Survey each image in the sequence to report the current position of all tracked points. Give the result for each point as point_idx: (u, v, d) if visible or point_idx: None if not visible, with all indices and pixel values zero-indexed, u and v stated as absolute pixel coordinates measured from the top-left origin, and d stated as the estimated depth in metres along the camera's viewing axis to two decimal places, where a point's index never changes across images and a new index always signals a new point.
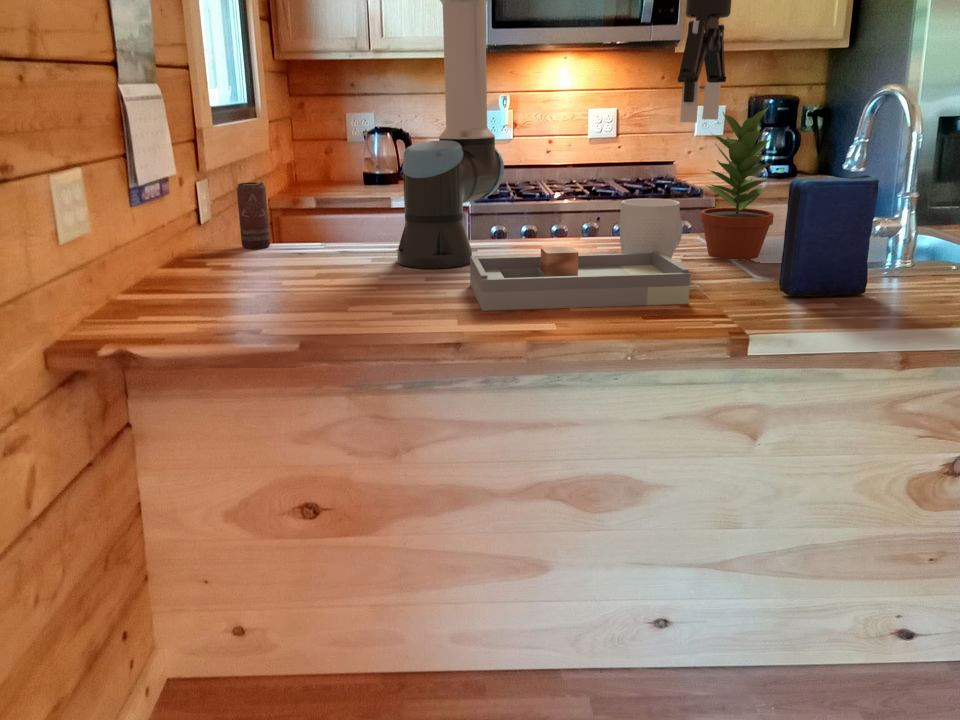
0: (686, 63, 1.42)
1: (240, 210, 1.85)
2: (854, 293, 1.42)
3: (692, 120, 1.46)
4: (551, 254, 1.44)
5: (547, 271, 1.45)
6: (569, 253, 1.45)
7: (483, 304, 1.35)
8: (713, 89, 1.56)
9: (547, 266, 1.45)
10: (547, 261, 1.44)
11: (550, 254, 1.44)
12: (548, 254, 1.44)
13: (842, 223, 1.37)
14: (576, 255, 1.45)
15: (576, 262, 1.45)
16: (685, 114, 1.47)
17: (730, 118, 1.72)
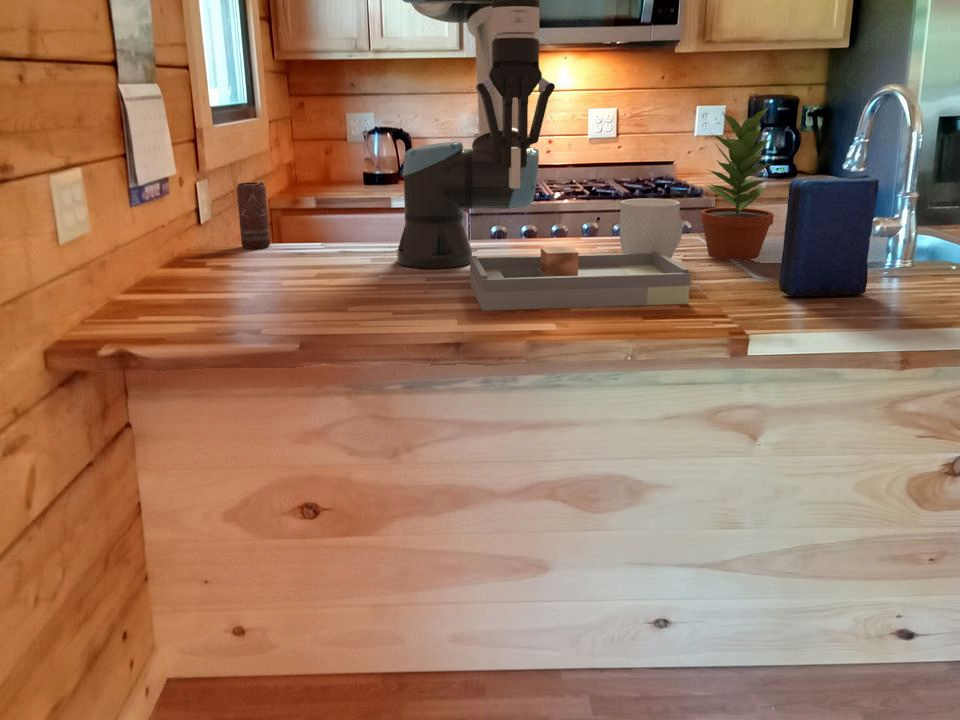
0: (490, 130, 1.40)
1: (240, 210, 1.85)
2: (854, 293, 1.42)
3: (510, 186, 1.42)
4: (551, 254, 1.44)
5: (547, 271, 1.45)
6: (569, 253, 1.45)
7: (483, 304, 1.35)
8: None
9: (547, 266, 1.45)
10: (547, 261, 1.44)
11: (550, 254, 1.44)
12: (548, 254, 1.44)
13: (842, 223, 1.37)
14: (576, 255, 1.45)
15: (576, 262, 1.45)
16: (509, 179, 1.43)
17: (730, 118, 1.72)
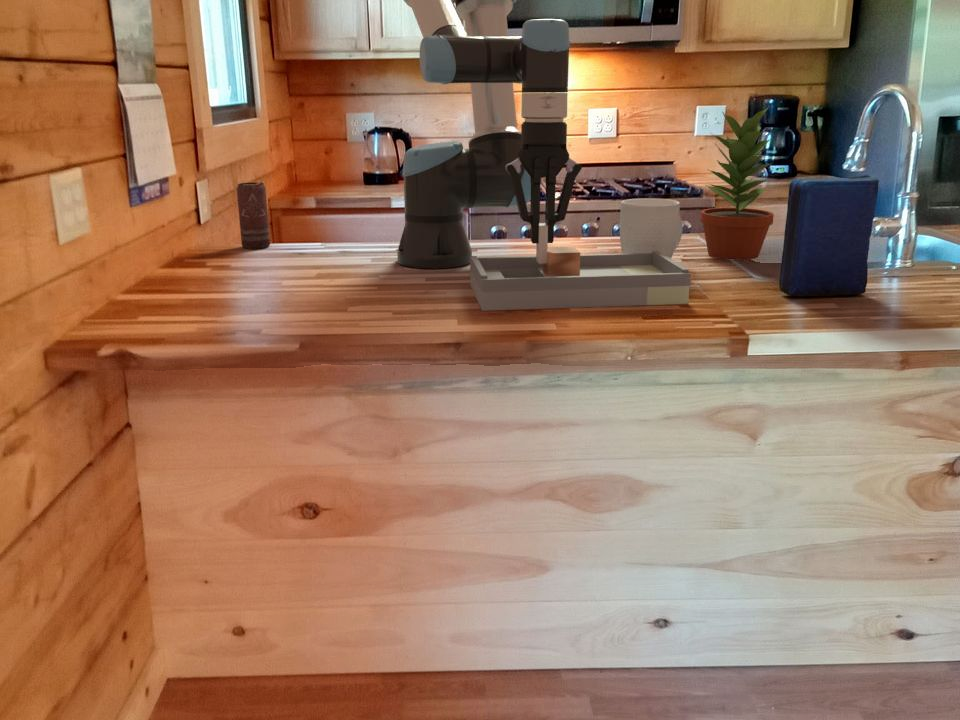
0: (518, 208, 1.44)
1: (240, 210, 1.85)
2: (854, 293, 1.42)
3: (538, 261, 1.46)
4: (553, 254, 1.44)
5: (549, 271, 1.45)
6: (571, 253, 1.44)
7: (483, 304, 1.35)
8: None
9: (549, 266, 1.45)
10: (549, 261, 1.44)
11: (552, 254, 1.44)
12: (550, 254, 1.44)
13: (842, 223, 1.37)
14: (578, 255, 1.45)
15: (578, 262, 1.45)
16: (537, 254, 1.47)
17: (730, 118, 1.72)
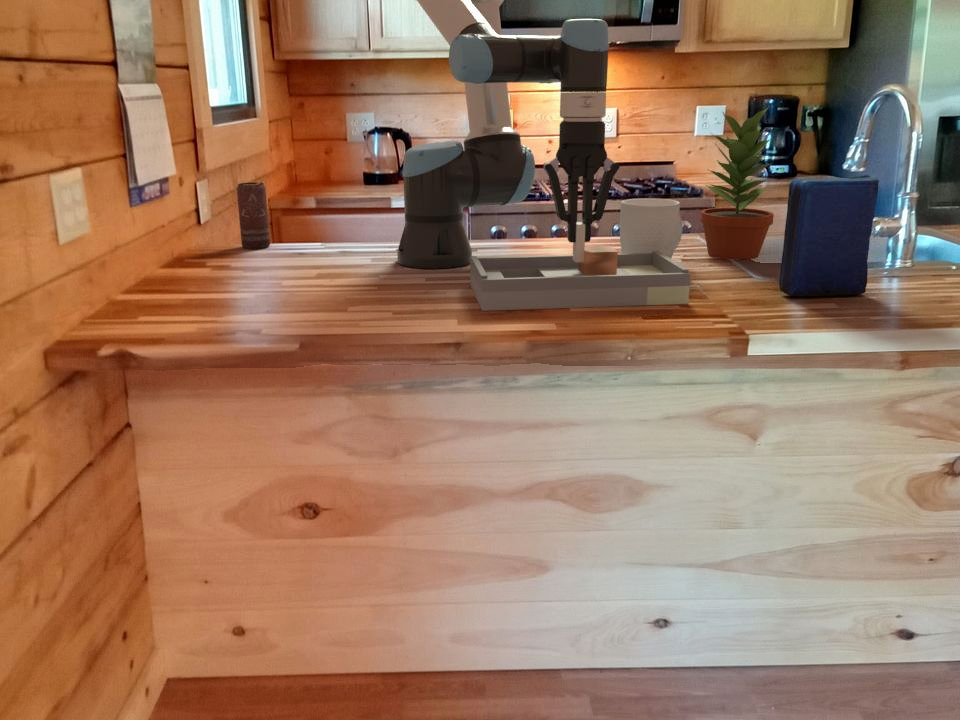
0: (556, 207, 1.45)
1: (240, 210, 1.85)
2: (854, 293, 1.42)
3: (575, 259, 1.47)
4: (590, 253, 1.45)
5: (586, 270, 1.46)
6: (608, 252, 1.45)
7: (483, 304, 1.35)
8: None
9: (586, 265, 1.45)
10: (586, 260, 1.45)
11: (589, 253, 1.45)
12: (587, 253, 1.45)
13: (842, 223, 1.37)
14: (615, 254, 1.45)
15: (615, 261, 1.46)
16: (573, 252, 1.48)
17: (730, 118, 1.72)
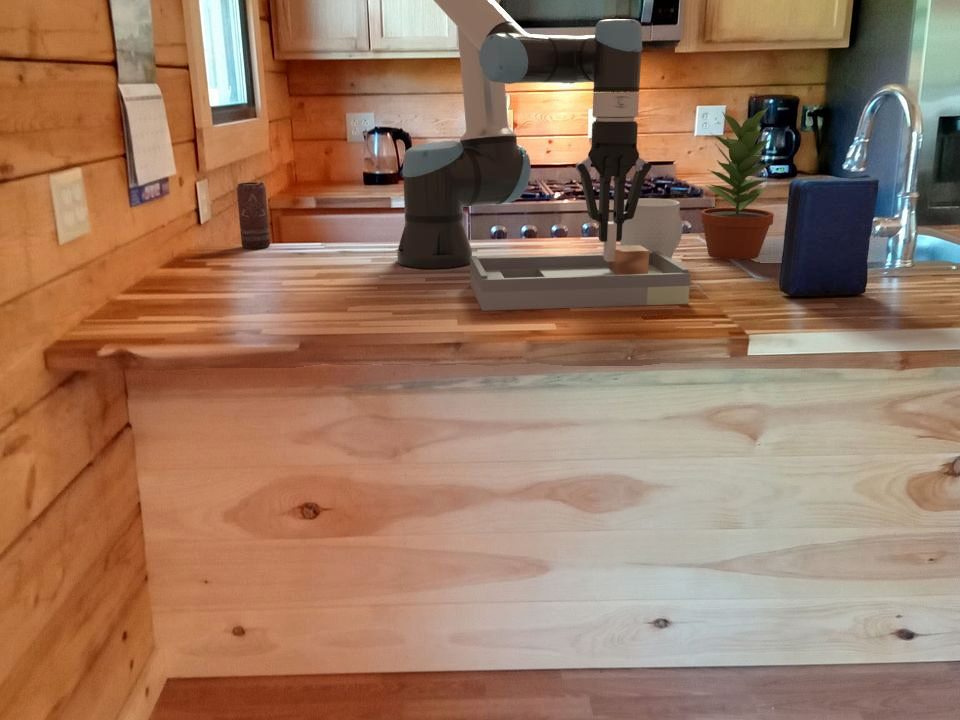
0: (587, 206, 1.45)
1: (240, 210, 1.85)
2: (854, 293, 1.42)
3: (606, 259, 1.47)
4: (622, 252, 1.45)
5: (618, 269, 1.46)
6: (640, 251, 1.46)
7: (483, 304, 1.35)
8: None
9: (618, 264, 1.46)
10: (618, 259, 1.46)
11: (621, 252, 1.45)
12: (619, 252, 1.45)
13: (842, 223, 1.37)
14: (647, 253, 1.46)
15: (647, 260, 1.46)
16: (604, 252, 1.48)
17: (730, 118, 1.72)
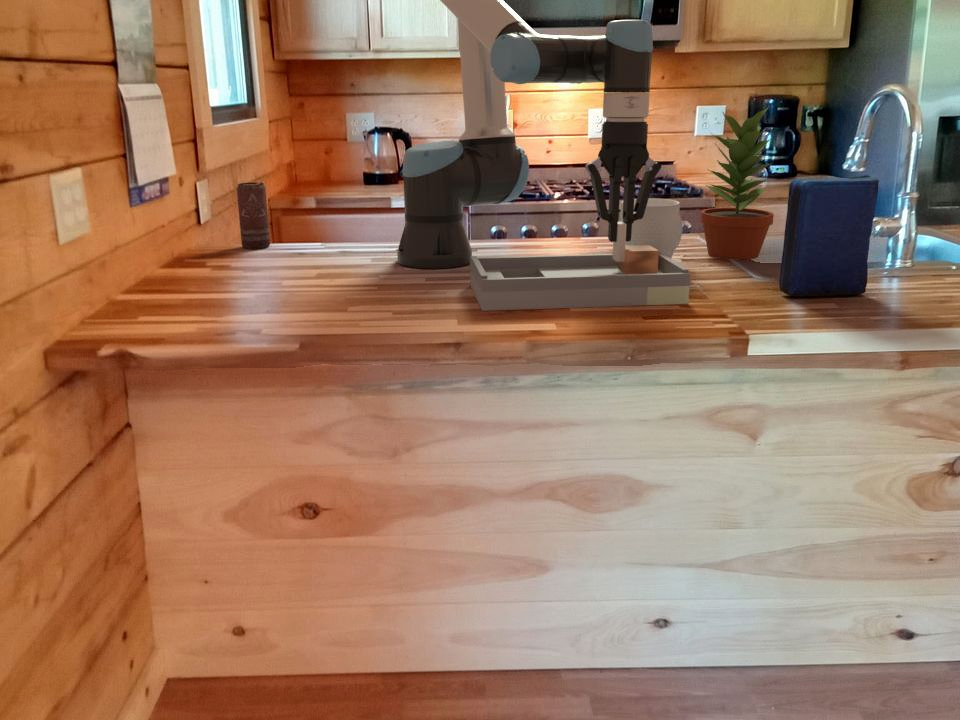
0: (597, 206, 1.46)
1: (240, 210, 1.85)
2: (854, 293, 1.42)
3: (615, 259, 1.48)
4: (632, 252, 1.45)
5: (627, 269, 1.46)
6: (649, 251, 1.46)
7: (483, 304, 1.35)
8: None
9: (627, 264, 1.46)
10: (628, 259, 1.46)
11: (631, 252, 1.45)
12: (629, 252, 1.45)
13: (842, 223, 1.37)
14: (656, 253, 1.46)
15: (656, 260, 1.46)
16: (614, 252, 1.49)
17: (730, 118, 1.72)
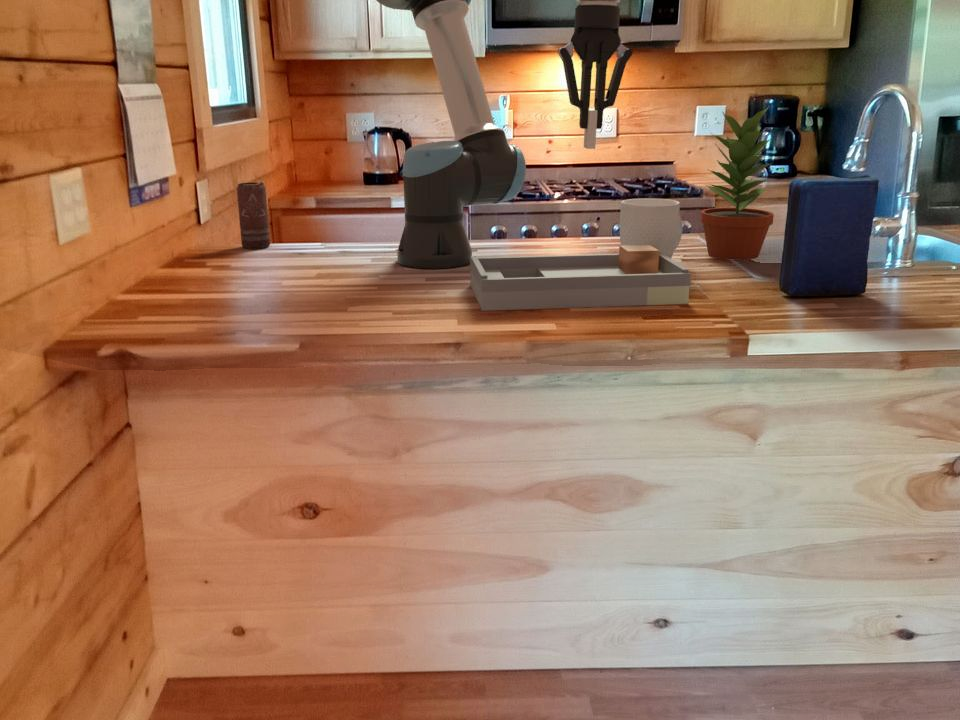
0: (569, 92, 1.48)
1: (240, 210, 1.85)
2: (854, 293, 1.42)
3: (586, 146, 1.50)
4: (632, 252, 1.46)
5: (628, 269, 1.46)
6: (650, 251, 1.46)
7: (483, 304, 1.35)
8: None
9: (628, 264, 1.46)
10: (628, 259, 1.46)
11: (631, 252, 1.46)
12: (629, 252, 1.45)
13: (842, 223, 1.37)
14: (657, 253, 1.46)
15: (656, 260, 1.46)
16: (585, 140, 1.51)
17: (730, 118, 1.72)
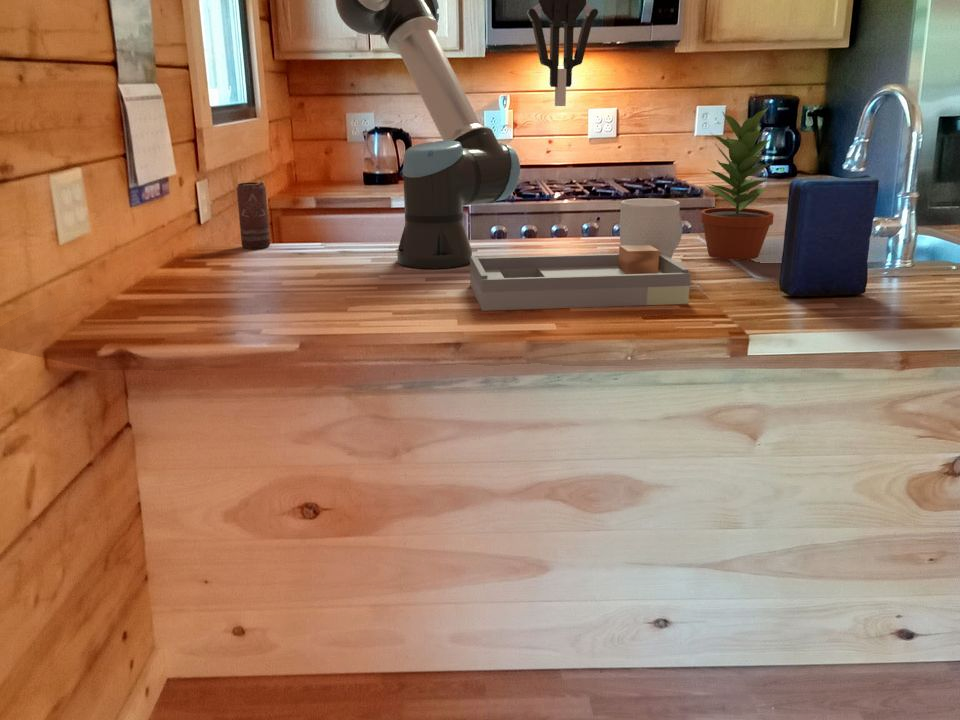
0: (539, 52, 1.55)
1: (240, 210, 1.85)
2: (854, 293, 1.42)
3: (557, 104, 1.57)
4: (632, 252, 1.46)
5: (628, 269, 1.46)
6: (650, 251, 1.46)
7: (483, 304, 1.35)
8: None
9: (628, 264, 1.46)
10: (628, 259, 1.46)
11: (631, 252, 1.46)
12: (629, 252, 1.45)
13: (842, 223, 1.37)
14: (657, 253, 1.46)
15: (656, 260, 1.46)
16: (555, 98, 1.58)
17: (730, 118, 1.72)
